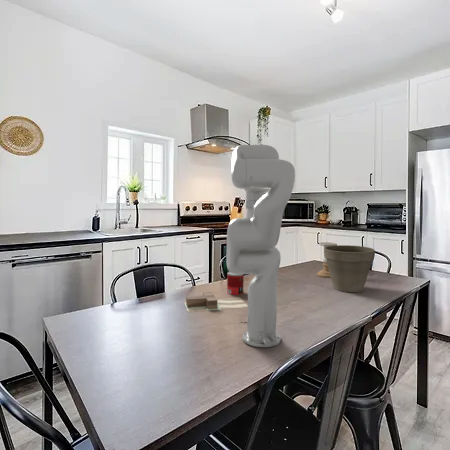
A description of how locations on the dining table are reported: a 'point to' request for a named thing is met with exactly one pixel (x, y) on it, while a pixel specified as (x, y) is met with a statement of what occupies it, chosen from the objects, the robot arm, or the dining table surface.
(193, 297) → the t block
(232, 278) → the canned food
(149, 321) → the dining table surface
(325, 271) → the candle holder
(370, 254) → the plant pot
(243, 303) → the board
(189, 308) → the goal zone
